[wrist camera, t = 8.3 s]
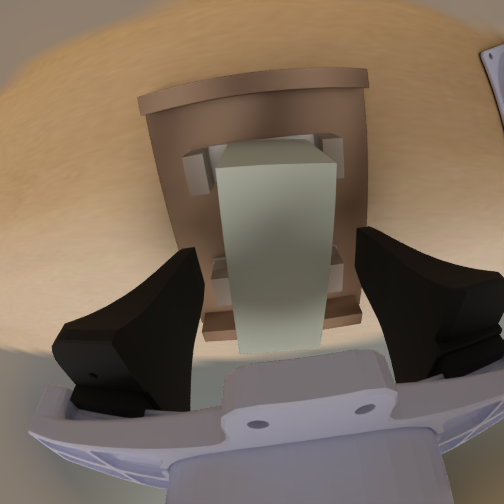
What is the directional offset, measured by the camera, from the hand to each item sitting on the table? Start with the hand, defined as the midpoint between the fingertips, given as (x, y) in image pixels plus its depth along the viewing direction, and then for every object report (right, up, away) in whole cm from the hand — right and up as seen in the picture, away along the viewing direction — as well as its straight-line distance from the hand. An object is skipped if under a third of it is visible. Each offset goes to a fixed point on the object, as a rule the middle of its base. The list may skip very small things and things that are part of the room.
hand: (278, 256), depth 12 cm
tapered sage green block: (0, +2, +4) cm, 5 cm away
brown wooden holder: (0, +3, +5) cm, 6 cm away
